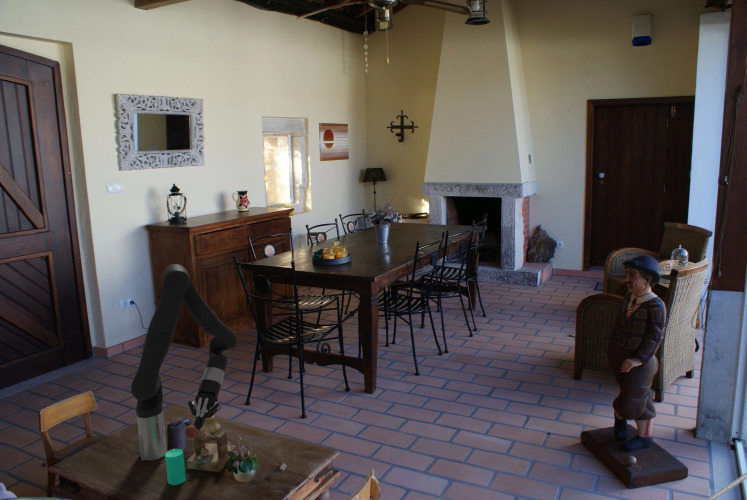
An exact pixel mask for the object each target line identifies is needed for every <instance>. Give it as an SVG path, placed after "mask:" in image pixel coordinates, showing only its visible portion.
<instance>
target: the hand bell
mask: <svg viewBox="0 0 747 500" xmlns="http://www.w3.org/2000/svg"><path fill="white" fill-rule="evenodd" d="M221 427H222V425H221V424H220V423H218V421H217V420H216V416H215V414H214V415H213V416H212V417H211V418H206V419H205V421H204V424H203V427H202V428H201V429H203V430H204V432H206V433H209V434H212V433H216V432H218V431H220V429H221Z"/></svg>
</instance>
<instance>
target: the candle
mask: <svg viewBox="0 0 747 500" xmlns="http://www.w3.org/2000/svg"><path fill="white" fill-rule="evenodd" d="M164 458H165V460H164V461H165V467H166V468H165V469H166V475H167V483H168V485H170V484H171V486H178V485H180V484H183V483H185V481H186V480H187V476H186V465H185V458H184V450H183V449H180V448H173V449H169V450H167V453H166V454H165V456H164Z"/></svg>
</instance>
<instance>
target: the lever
mask: <svg viewBox="0 0 747 500" xmlns="http://www.w3.org/2000/svg"><path fill="white" fill-rule="evenodd" d="M184 435H185V437H186V438H189V439H191V438H193V439H194V437H195V438H198V439H201V440H204V441H205V442H206V443H210V442H212V441H214V442H217V439H216V437H217V436H213V435H212V433H206V432H204V431H201V430H198V429H197V428H196V427H195V426H194V424H190V425H188V426H186V428H185V429H184Z"/></svg>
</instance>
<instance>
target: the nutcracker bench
mask: <svg viewBox="0 0 747 500" xmlns="http://www.w3.org/2000/svg"><path fill="white" fill-rule="evenodd" d="M200 430H201V431H204V430H203V429H200ZM215 437H216V439H217V441H216V443H210V442H206V441H204V440H201V439H198V438H195V437H193V442H194V443H193V444H194V453H193V454H191V456H190V457H189V458H188V459H187V460H186V467H187V469H188V470H198V471H206V472H207V471H208V472H217V473H220V472H221V471H222V470H223V469H224V468H225V467H226V466H225V463H226V461H227V460H229V457H228V455H227V451H236V452H237V445H234V444H233V445H232V444H231V445H232V447H233V449H231V447H230V446H229V445H230V444H228V440H227V439H228V438H227V431H224V430H223V431H220V433H219V434H217V436H215Z"/></svg>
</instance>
